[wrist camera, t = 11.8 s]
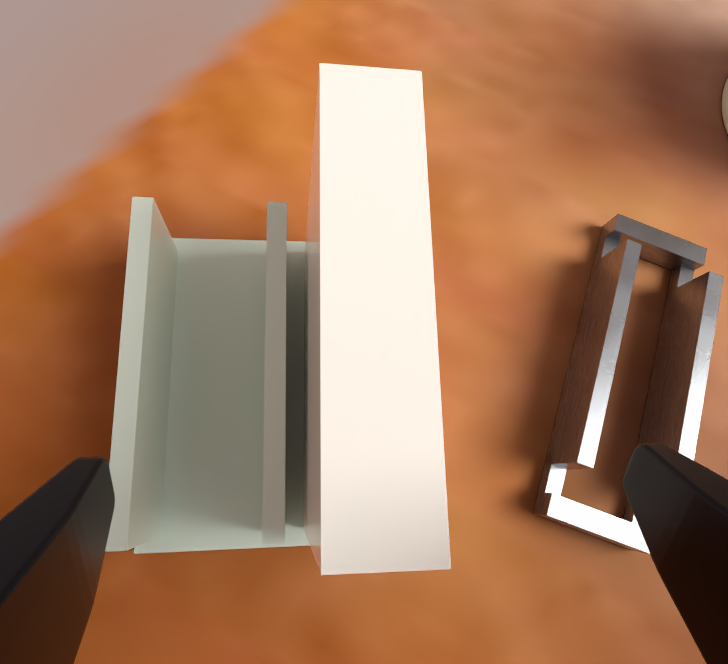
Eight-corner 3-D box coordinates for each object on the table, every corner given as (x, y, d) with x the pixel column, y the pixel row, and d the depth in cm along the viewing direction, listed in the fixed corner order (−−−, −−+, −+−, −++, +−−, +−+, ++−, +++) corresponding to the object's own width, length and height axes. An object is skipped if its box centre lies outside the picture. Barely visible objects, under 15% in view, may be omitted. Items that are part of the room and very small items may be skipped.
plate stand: (632, 550, 21) (677, 559, 19) (532, 513, 21) (564, 517, 18) (687, 259, 25) (730, 235, 22) (602, 226, 25) (637, 198, 22)
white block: (367, 525, 19) (450, 569, 9) (303, 527, 19) (321, 575, 9) (361, 253, 22) (421, 71, 12) (304, 251, 21) (319, 62, 12)
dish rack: (402, 537, 20) (439, 555, 15) (141, 550, 19) (92, 573, 14) (389, 253, 23) (417, 193, 18) (162, 248, 22) (126, 181, 17)
